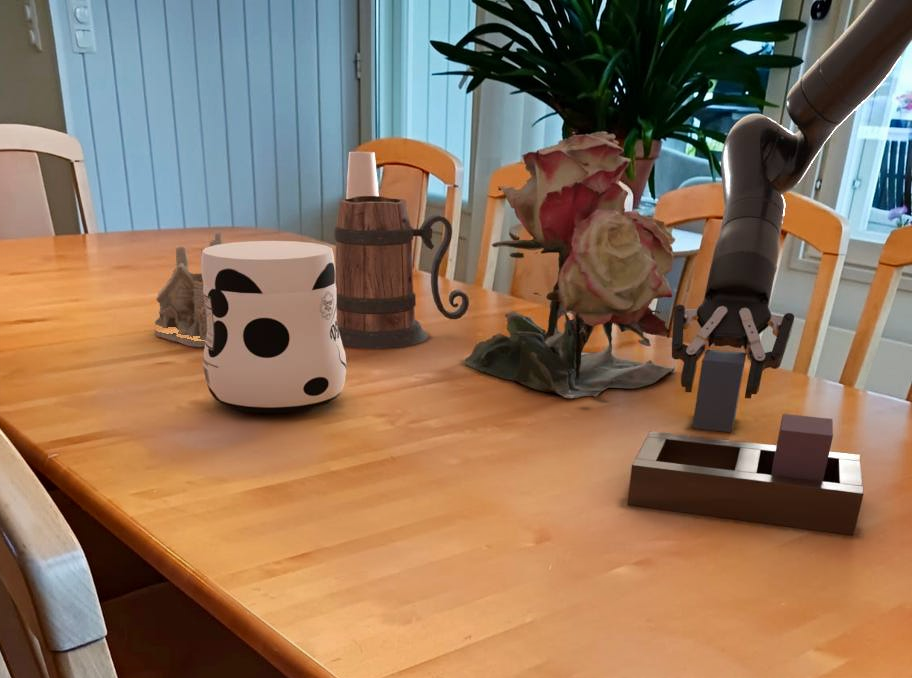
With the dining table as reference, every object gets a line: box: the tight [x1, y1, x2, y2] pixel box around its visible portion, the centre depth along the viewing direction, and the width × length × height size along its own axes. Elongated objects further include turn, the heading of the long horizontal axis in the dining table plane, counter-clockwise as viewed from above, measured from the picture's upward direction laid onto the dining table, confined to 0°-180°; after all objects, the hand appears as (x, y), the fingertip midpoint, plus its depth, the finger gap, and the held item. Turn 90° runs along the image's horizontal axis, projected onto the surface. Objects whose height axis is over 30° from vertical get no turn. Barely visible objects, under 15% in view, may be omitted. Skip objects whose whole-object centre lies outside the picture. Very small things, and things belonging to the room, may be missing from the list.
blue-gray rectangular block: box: [691, 349, 747, 433], centre depth 114 cm, size 6×4×8 cm
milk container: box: [200, 240, 347, 414], centre depth 117 cm, size 17×17×18 cm
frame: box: [626, 430, 865, 536], centre depth 94 cm, size 11×20×4 cm, turn 71°
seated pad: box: [771, 413, 834, 481], centre depth 92 cm, size 6×4×8 cm
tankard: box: [333, 195, 470, 349], centre depth 150 cm, size 24×17×20 cm
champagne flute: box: [345, 151, 380, 199], centre depth 185 cm, size 7×7×24 cm
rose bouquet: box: [449, 131, 676, 400], centre depth 130 cm, size 26×29×30 cm
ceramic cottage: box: [154, 232, 224, 348], centre depth 150 cm, size 16×16×15 cm
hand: (718, 391), depth 113 cm, fingers open, 6 cm apart
